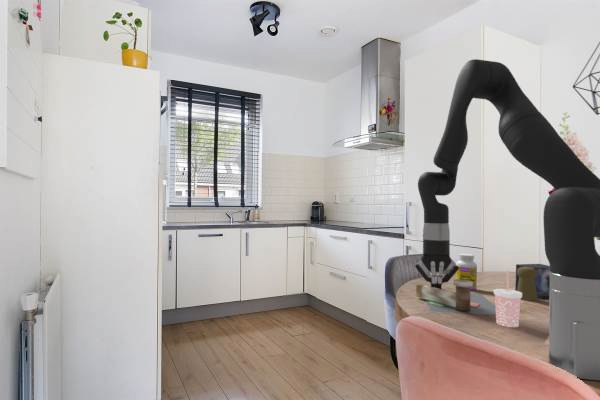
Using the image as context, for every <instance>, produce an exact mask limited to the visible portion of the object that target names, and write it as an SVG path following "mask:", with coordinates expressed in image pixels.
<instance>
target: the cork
mask: <svg viewBox="0 0 600 400" xmlns="http://www.w3.org/2000/svg"><path fill="white" fill-rule="evenodd" d="M517 274H518V276H519V282H518V288H517V291H519V292H521V293H522V297H521V301H526V302H538V300H539V299H538V298H537V291H536V284H535V278H536V276H537V271H536V270H535V269H534V268H531V267H520V268H518V270H517Z"/></svg>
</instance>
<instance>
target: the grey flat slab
mask: <svg viewBox="0 0 600 400" xmlns="http://www.w3.org/2000/svg"><path fill="white" fill-rule="evenodd" d="M455 293H456V291H455ZM424 301H425V303H426V305H427V306H428V308H429V310H430V311H432V312H445V313H459V314H474V315H485V316H486V315H487V316H496V308H495V303H493V302H491V301H490V300H489V299H487V298H486V296H484V295H483V294H481V293H473V292H472V293H471V292H470V311H460V310H457V309H456V307H453V306H449V305H445V304H442V303H438V302H435V301H431V300H428V299H424Z"/></svg>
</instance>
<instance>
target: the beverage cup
mask: <svg viewBox="0 0 600 400" xmlns="http://www.w3.org/2000/svg"><path fill="white" fill-rule="evenodd" d="M493 295H494V305H495V308H496V315H495V321H496V324H497V325H499V326H503V327H507V328H518V327H519V325H520V311H521V301H522V300H521V297H522V293H521V292H519V291H515V290H514V289H510V270H506V288H494V289H493Z"/></svg>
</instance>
